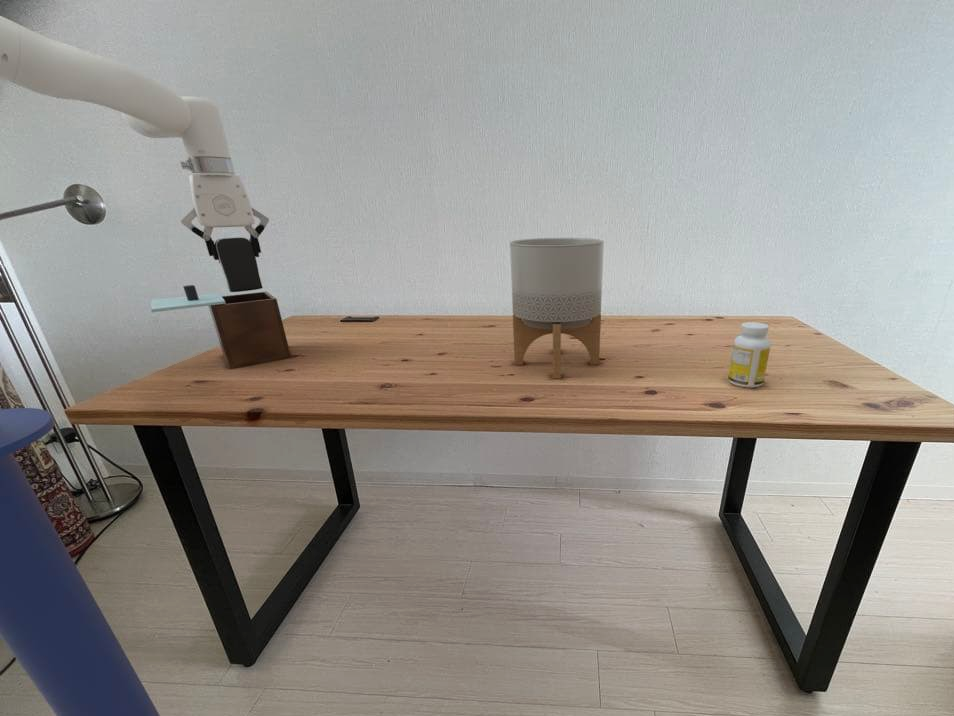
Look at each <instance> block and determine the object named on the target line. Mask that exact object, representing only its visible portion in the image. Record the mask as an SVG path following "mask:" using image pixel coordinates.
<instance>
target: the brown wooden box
mask: <svg viewBox="0 0 954 716" xmlns="http://www.w3.org/2000/svg"><path fill="white" fill-rule="evenodd" d="M221 296H222V298H223V299H224V300H225V302H226V304H219V305H210V306H207V307H208V309H209V313H210V316H211V319H212V323H213V325H214V329H215V333H216V335H217V339H218V341H219V345H220V349H221V352H222V354H223V357H224V360H225V361H226V364H227V366H228V368H229V369H230V370H231V369H236V368H237V369H238V368H242V367H247V366H252V365H258V364H263V363H268V362H274V361H275V362H276V361H281V360H285V359H290V358H292V356H291V352H290V347H289V343H288V340H287V335H286V332H285V328H284V327H285V326H284V323H283V319H282V315H281V311H280V307H279V302H278V299H277V298H276V297H275V296H274V295H272V294H271V293H270V292H268V291H266V290H265V291H258V292H248V293H240V294H233V295H232V294H230V295H221Z"/></svg>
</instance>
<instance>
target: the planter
mask: <svg viewBox="0 0 954 716" xmlns="http://www.w3.org/2000/svg"><path fill="white" fill-rule="evenodd" d="M604 242H605V241H604V239H600V238H599V239H598V238H587V237H539V238H525V239H523V238H522V239H515V240H511V241H509V250H510V253H509V254H510V276H511V279H510V280H511V297H512V298H511V303H512V304H511V305H512V333H513V356H514V357H513V358H514V360H513V361H514V365H515V366H517V365H518V366H524V357H525V354H526V352H527V350H528V348H529V347H530V345H531V344H532V343H534V341H536V340H537V339H539V338H541V337H544V336H547V335H552V379H561V378H562V371H561V370H562V335H567V336H570V337H573V338H574V339H577V340H578V341H579V342H580V343H582V344H583V346H584V347H585V348H586V351H587V352H588V356H589V361H590V362H589V363H590V365H600V347H601V326H602V325H601V324H602V313H601V312H602V297H603V296H602V294H603V272H604V271H603V268H604Z"/></svg>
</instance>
